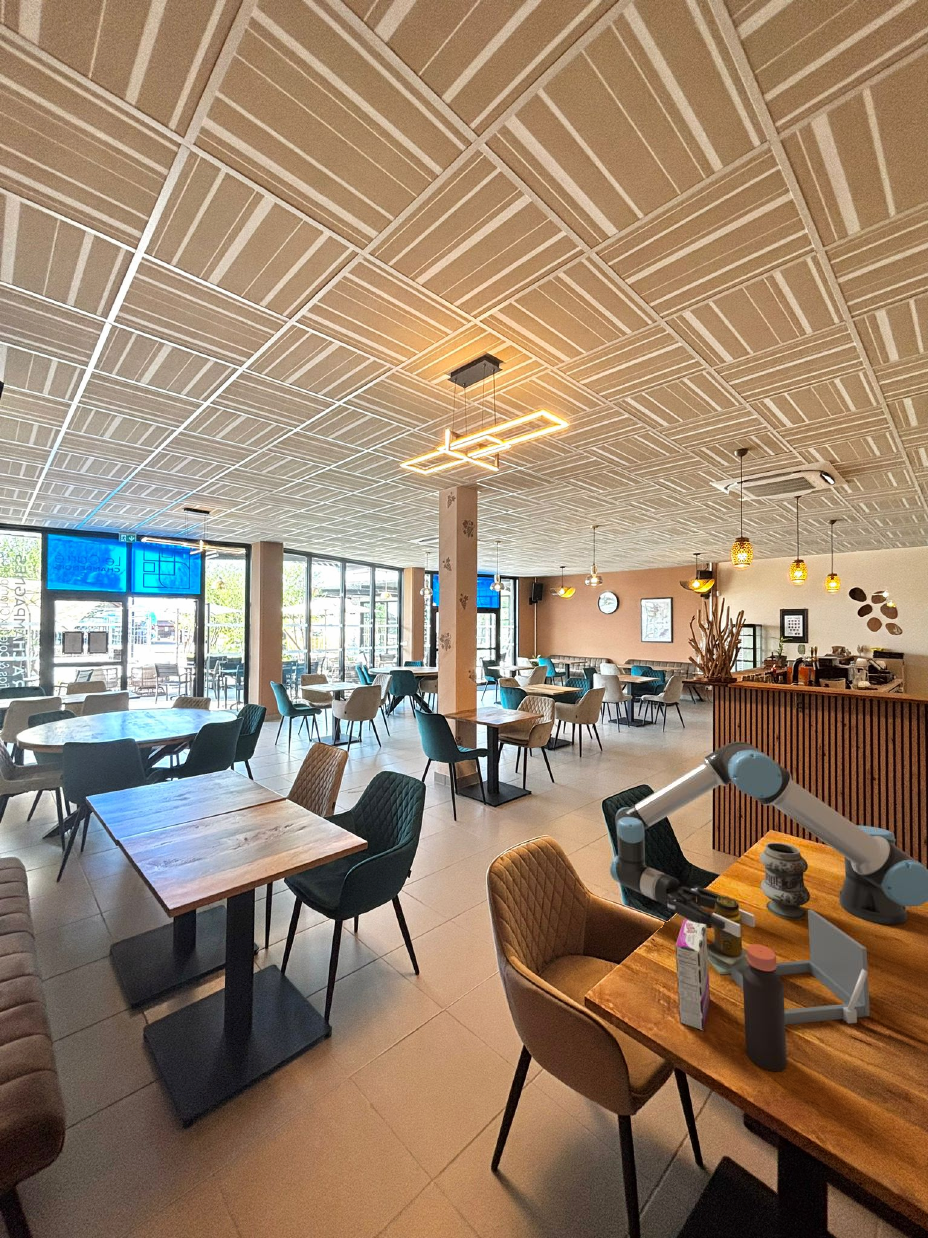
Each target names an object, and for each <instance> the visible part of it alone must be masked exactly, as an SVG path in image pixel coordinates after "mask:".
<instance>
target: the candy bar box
mask: <svg viewBox="0 0 928 1238" xmlns="http://www.w3.org/2000/svg"><path fill="white" fill-rule="evenodd" d="M707 939H708V938H707V924H701V923H697V922H694V921H691V920H689V919H686V918H685V919H683V920H682V924H681V927H680V930H679V934H678V936H677V939H676V943H675V958H676V961H675V962H676V973H677V974H676V977H677V991H678V996H677V997H678V1013H679V1016H678V1017H679V1023H680V1024H682V1023H683V1024H682V1025H684V1024H685V1025H684V1026H687V1025H689V1026H688V1027H690V1026H692V1027H691V1028H693V1027H694V1028H693V1029H696V1028H697V1029H696V1030H698V1029H700V1030H699V1031H701V1030H702V1031H701V1032H704V1031H705V1026H706V1022H707V1020H706V1019H707V1015H708V1011H709V1006H710V1001H711V993H710V992H711V991H710V977H709V975H710V974H709V973H710V972H709V961H708V955H707V945H708V943H707V941H708V940H707Z"/></svg>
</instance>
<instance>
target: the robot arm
mask: <svg viewBox="0 0 928 1238" xmlns="http://www.w3.org/2000/svg"><path fill="white" fill-rule="evenodd" d="M731 783H732V784H733V785H734V786H735V787H736V788H737V789H738V790H739V792H740V791H741V793H743V794H746V795H747V796H748V797H752V798H753V799H754V800H756V801H757V802H759V803H760V804H762V805H763V806H773V807H775V808H776V809H777V810H779V811H781V812H782V813H783V814H784V815H786V816H787V817H789V818H790V819H791V820H792V821H795V823H797V824H799V826H801V827H802V828H804V829H805V830H807V831H808V832H809V833H811V834H813V836H815V837H816V838H818V839H819V840H820V841H822V842H823V843H825V844H826V845H828V846H829V847H830V848H832V849H833V850H835V851H836V852H838V854H840V855H842V856H843V858H844V870H845V871H844V872H845V874H844V875H845V876H844V880H843V882H842V883H843V884H842V886H841V887H842V888H841V890H840V891H839V895H838V898H839V899H838V901H839V904H840V906H841V907H842V909H844V910H845V911H847V912H848V913H850V914H852V915H853V916H856V917H858V918H860V919H863V920H866V921H870V922H873V923H879V924H883V925H885V924H886V925H901V924H904V923H905V922H907V920H908V912H907V907H909V908H910V907H919V906H922V905H924V904H926V903H928V869H927V867H926V866H925V865H924V864H923V863H921V862H920V861H918V860H916V859H915V858H913V857H912V856H910V855H909V854H907V853H906V852H905V851H903V850H902V849H900V848H899V847H898V846H896V840H897V839H896V838H895V834H894V833H893V832H891V831H890V830H887V829H884V828H880V827H875V826H869V825H868V826H867V825H856V824H855V823H853V822H852V821H850V820H849V819H848V818H846V817H845V816H843V815H842V814H840V813H839V812H837V811H836V810H835V809H833V808H832V807H831V806H829V805H828V804H827V803H825V802H824V801H822V800H821V799H819V798H818V797H816V796H815V795H813V794H812V793H811V792H810V791H808V790H806V789H805V788H803V786H801V785H800V784H798V783H796V782H795V781H794V780H793V777H792V774H791V772H790V771H789V770H788V769H786V768H785V767H783V765H780V764H779V763H778V762H777V761H775V760H774V759H773V758H772V757H771V756H769V755H767V754H765V753H764V752H762V751H761V750H759V749H758V748H756V747H755V746H754V745H752V744H751V743H748V742H745V741H733V742H730V743H726V744H724V745H723V746H721V747H719V748H718V749H716V750H714V751H713V752H711V753H710V754H708V755H706V756H704V757H703V760H702V763H700V764H698V765H697V766H696V767H693V768H692V769H690V770H688V771H687V772H685V773H684V774H683V775H680V776H679V777H678V778H676V779H674V780H673V781H671V782H669V783H668V784H666V785H664V786H663V787H662V788H659V789H658V790H657V791H654V792H653V793H652V794H650V795H648V796H647V797H645V798H644V799H642V800H640V801H639V802H637V803H636V804H634V805H632V806H630V807H629V806H626V807H621V808H620V809H618V810H617V812H616V814H615V820H614V821H615V823H614V824H615V827H616V836H617V838H616V839H617V850H618V854H617V855H615V857H613V858H612V860H611V862H610V864H611V865H610V866H609V873H610V876H611V878H612V879H613V881H615V882H617V883H619V884H620V885H622V886H623V887H625V888H629V889H631V890H634V891H635V892H637V893H640V894H641V895H644V896H646V897H648V898H650V899H651V900H654V901H657V902H658V903H659V904H662V905H664V906H665V907H667V910H668V911H670V912H673V913H674V914H675V913H676V914H678V915H680V916H682V917H684V918H685V919H686V920H690V921H694V922H697V923H701V924H705V925H706V929H711V928H712V926H713V927H714V926H716V927H718V928H720V929H722V930H724V931H726V932H729V933H731V934H733V935H735V936H737V937H741V936H742V933H741V932H742V928H741V929H740V924H737V923H735V922H733V921H731V920H728V919H726V918H724V917H722V916H720V915H717V914H715V913H714V912H713V913H710V912H708V910H706V909H704V908H707V909H711V910H714V909H715V900H716V898H717V897H724V895H721V894H718V893H715V892H712V891H710V890H707V889H705V888H702V887H701V886H699V885H697V884H694V885H693V888H690V887H686V886H683V885H682V884H681V882H680V881H679V879H677V878H676V877H674V876H671V875H669V874H665V872H662V871H659V870H657V869H655V868H652V867H649V866H647V865H646V857H645V852H646V851H645V848H646V847H645V834H646V833H645V830H646V829H648V828H649V827H651V826H653V825H654V824H656V823H658V822H659V821H662V820H663V819H665V818H666V817H668V816H670V815H671V814H674V813H675V812H676V811H679V810H680V809H681V808H683V807H685V806H687V805H688V804H690V803H691V802H693V801H695V800H696V799H698V798H700V797H701V796H703V795H705V794H707V793H708V792H710V791H712V790H713V789H715V788H716V787H719V786H724V787H726V786H727V785H729V784H731ZM703 907H704V908H703ZM739 914H740V916H741V924H742V923H743V924H744V925H747V926H749V927H752V928H754V927H756V925H755V923H756V922H755V915H754V914H752V913H750V912H747V911H745V910H743V909H741V908H739Z"/></svg>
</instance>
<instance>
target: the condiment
mask: <svg viewBox="0 0 928 1238" xmlns="http://www.w3.org/2000/svg"><path fill="white" fill-rule="evenodd" d="M739 909H740V905H739V903H738V901H737V900H736V899H734V898H731V897H728V896H723V897H717V898H716V900H715V909H713V913H715V914H717V915H720V916H722V917H724V918H726V919H728V920H731V921H733V922H735V923H737V924H740V929H741V930H742V922H741V916H740V914H739ZM713 930H714V934H713V935H714V941H712V942H711V943H709V944H707V952H708V953H710V954H712V955H714V956H715V957H717V958H718V959H721V960H723V961H724V962H727V963H728V964H730V965H731V964H733V963H734V962H735V961H737V960H739V959H740V958H742V957H743V956H745V955H747V948H746V949H745V948H744V947H743V943H742V942H743V939H742V937H743V936H742V935H741V937H737V936H735V935H733V934H731V933H729V932H726V931H724V930H722V929H720V928H718V927H716V926H713ZM741 934H742V931H741Z"/></svg>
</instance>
